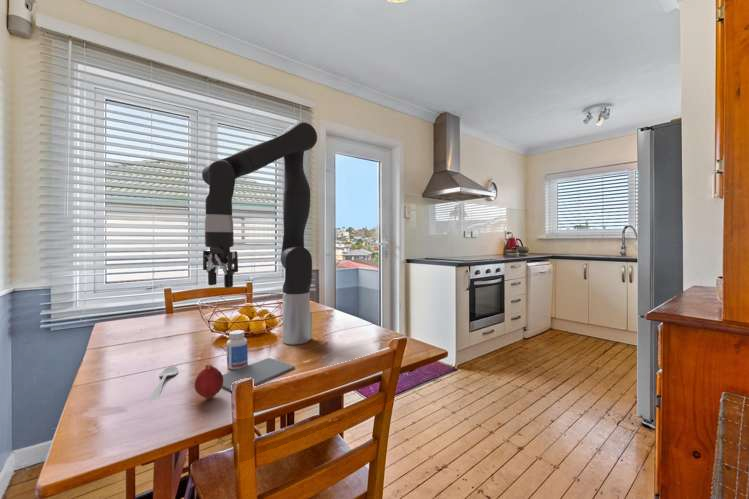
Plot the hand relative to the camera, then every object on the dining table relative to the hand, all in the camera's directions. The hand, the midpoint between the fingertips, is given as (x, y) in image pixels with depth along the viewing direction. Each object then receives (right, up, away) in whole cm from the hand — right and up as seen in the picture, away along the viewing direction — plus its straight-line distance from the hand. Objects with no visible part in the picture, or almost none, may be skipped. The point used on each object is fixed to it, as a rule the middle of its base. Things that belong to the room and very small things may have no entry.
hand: (220, 286), depth 96 cm
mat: (+14, -22, -9) cm, 28 cm away
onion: (+8, -23, -22) cm, 33 cm away
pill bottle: (+7, -22, -4) cm, 24 cm away
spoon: (-7, -23, -16) cm, 29 cm away
